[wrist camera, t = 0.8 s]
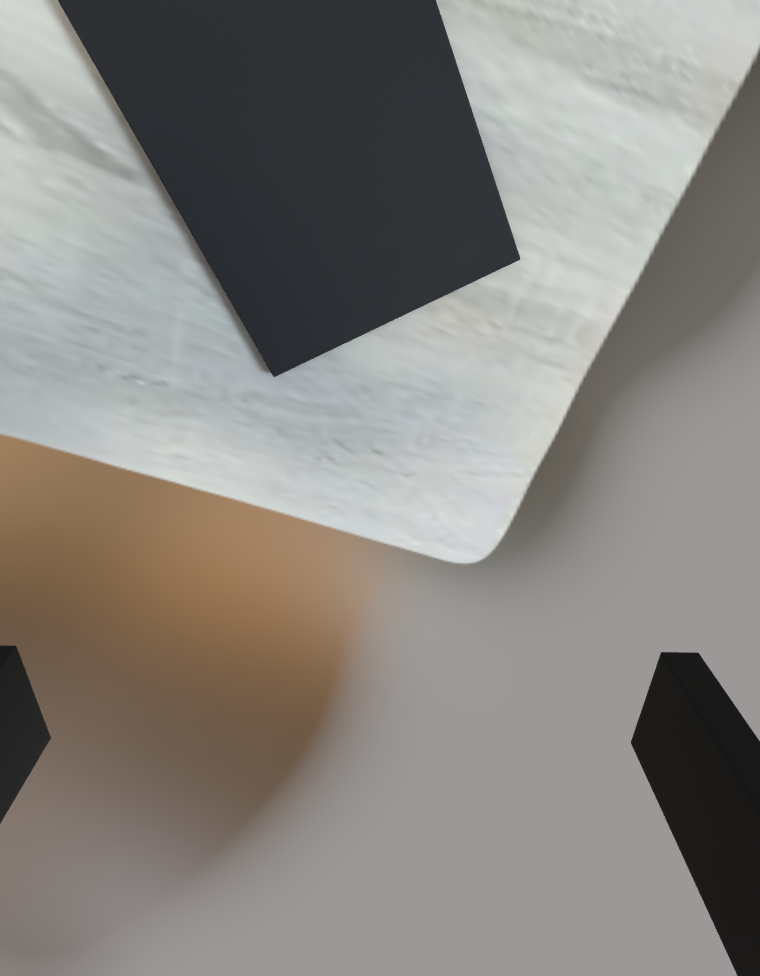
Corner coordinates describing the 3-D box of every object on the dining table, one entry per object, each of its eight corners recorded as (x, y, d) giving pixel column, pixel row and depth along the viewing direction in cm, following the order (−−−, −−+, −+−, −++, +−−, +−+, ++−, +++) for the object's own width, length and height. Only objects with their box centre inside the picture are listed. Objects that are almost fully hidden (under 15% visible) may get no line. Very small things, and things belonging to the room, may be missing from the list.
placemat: (62, 2, 27) (56, -1, 26) (366, -205, 24) (366, -214, 23) (275, 374, 35) (273, 377, 35) (518, 258, 32) (520, 259, 32)
